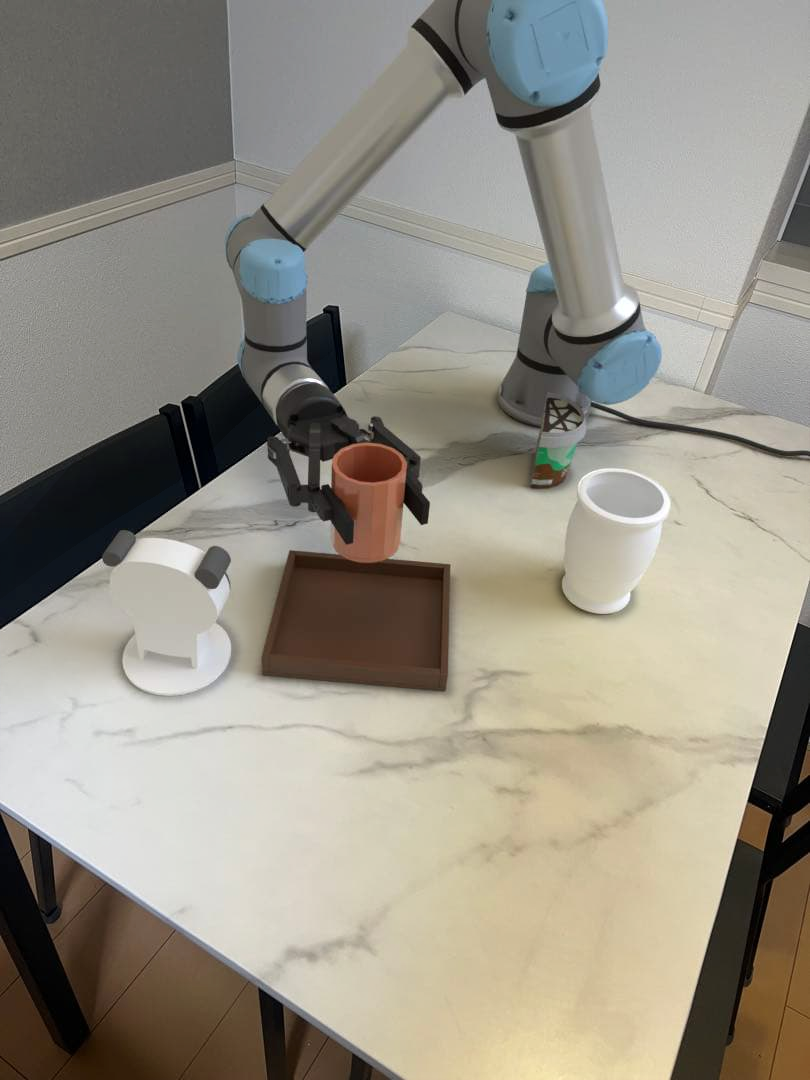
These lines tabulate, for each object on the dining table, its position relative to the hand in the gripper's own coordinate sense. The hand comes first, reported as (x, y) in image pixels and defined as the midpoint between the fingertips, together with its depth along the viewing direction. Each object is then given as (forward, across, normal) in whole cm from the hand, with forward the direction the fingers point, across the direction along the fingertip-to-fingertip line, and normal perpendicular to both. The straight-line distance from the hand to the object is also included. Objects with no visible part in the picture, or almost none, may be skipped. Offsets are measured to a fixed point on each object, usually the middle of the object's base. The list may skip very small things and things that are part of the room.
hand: (388, 523), depth 79 cm
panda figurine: (-7, +21, -18) cm, 28 cm away
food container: (-21, -38, -17) cm, 46 cm away
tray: (-4, +1, -17) cm, 18 cm away
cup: (-5, 0, -6) cm, 8 cm away
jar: (+3, -28, -17) cm, 33 cm away
